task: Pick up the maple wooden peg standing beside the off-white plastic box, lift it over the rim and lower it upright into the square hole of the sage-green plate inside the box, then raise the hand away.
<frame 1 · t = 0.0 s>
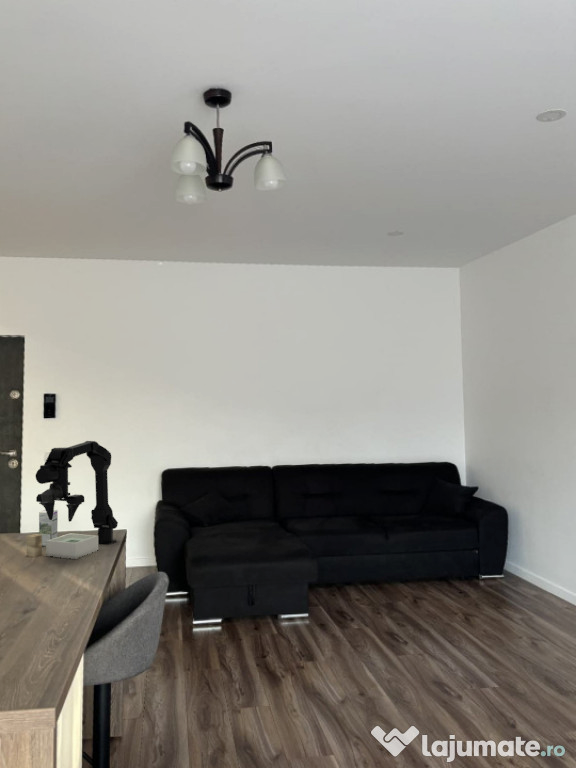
hand: (60, 520, 244), 15 cm above the counter, tool pointing down, fingers open, 9 cm apart
maple peg: (34, 555, 249), on the counter
syrup box: (48, 545, 266), on the counter
open box: (72, 553, 252), on the counter
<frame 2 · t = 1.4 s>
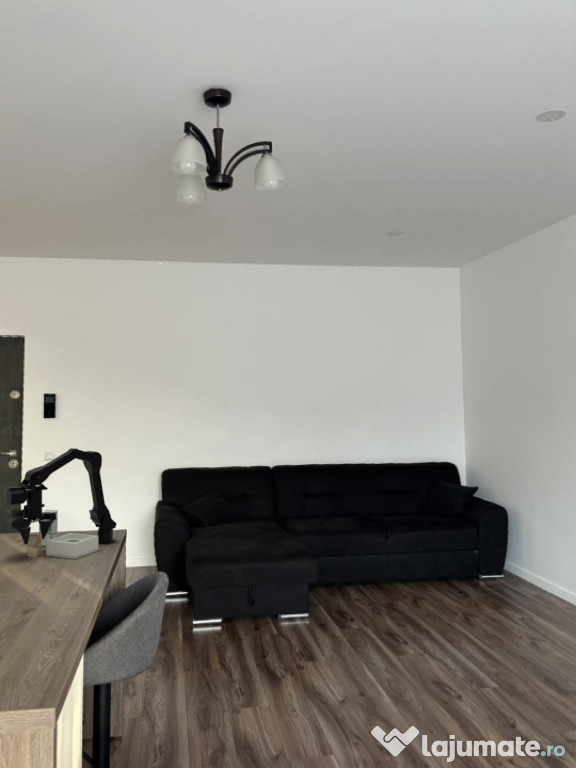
hand: (34, 541, 249), 5 cm above the counter, tool pointing down, fingers open, 9 cm apart
nothing on the counter moved.
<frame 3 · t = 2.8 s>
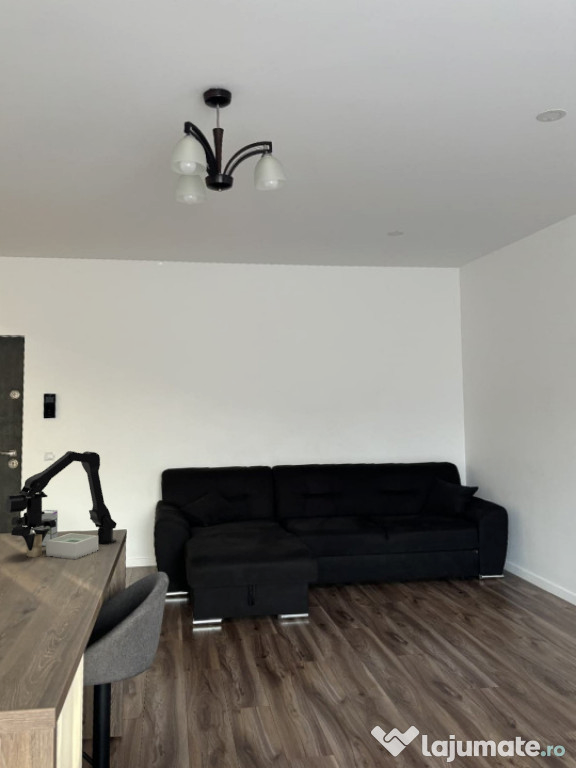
hand: (34, 549, 249), 3 cm above the counter, tool pointing down, fingers closed on maple peg, 4 cm apart
maple peg: (34, 555, 249), on the counter, touching gripper
everything else where it was.
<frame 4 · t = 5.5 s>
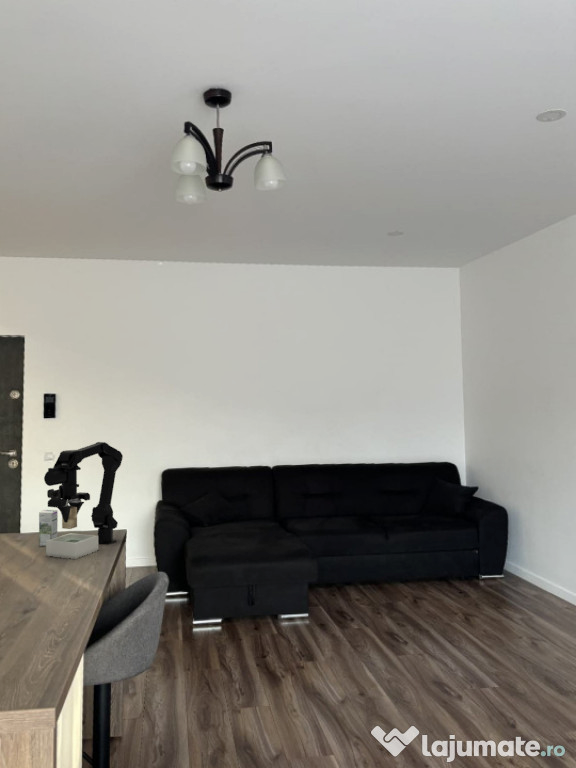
hand: (69, 521, 252), 13 cm above the counter, tool pointing down, fingers closed on maple peg, 4 cm apart
maple peg: (69, 527, 252), point 10 cm above the counter, touching gripper
everything else where it was.
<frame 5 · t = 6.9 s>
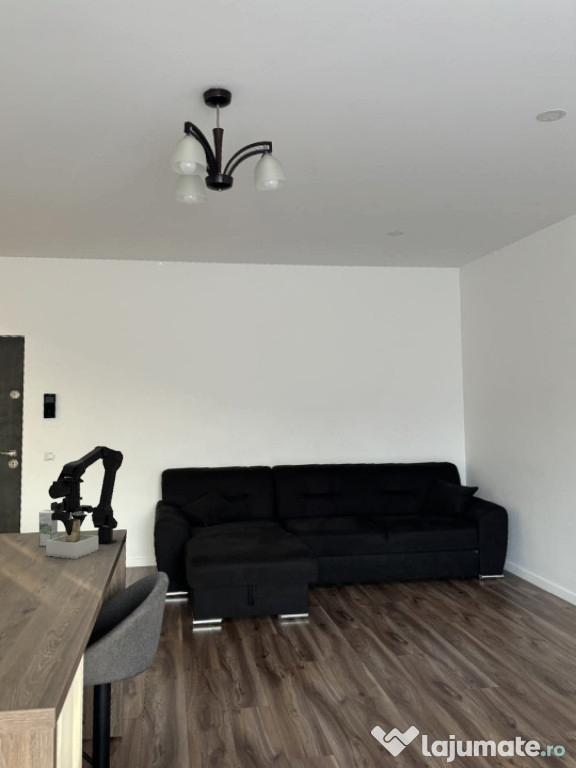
hand: (72, 534, 252), 8 cm above the counter, tool pointing down, fingers closed on maple peg, 4 cm apart
maple peg: (72, 540, 252), point 5 cm above the counter, touching gripper
everything else where it was.
when the fingers open (5 cm above the counter, at t = 8.2 s): maple peg drops 2 cm, resting on open box.
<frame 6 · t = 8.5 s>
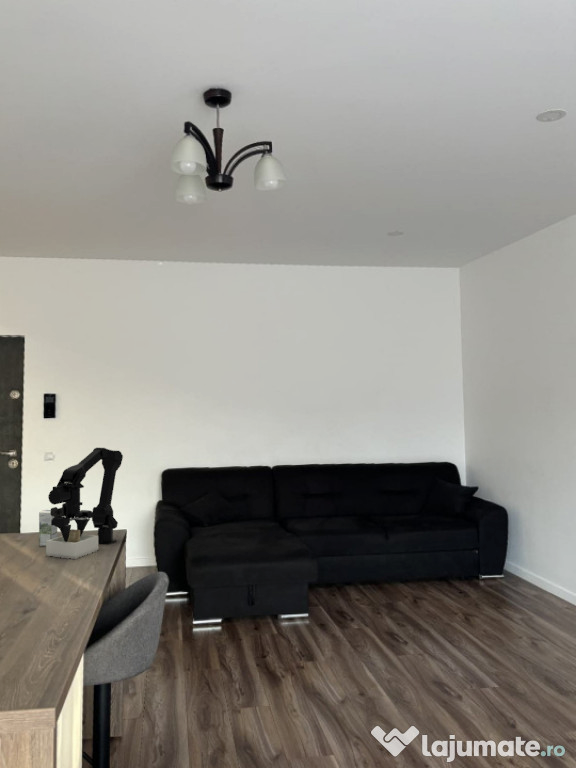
hand: (72, 539, 252), 5 cm above the counter, tool pointing down, fingers open, 8 cm apart
maple peg: (72, 550, 252), point 1 cm above the counter, touching open box
everything else where it was.
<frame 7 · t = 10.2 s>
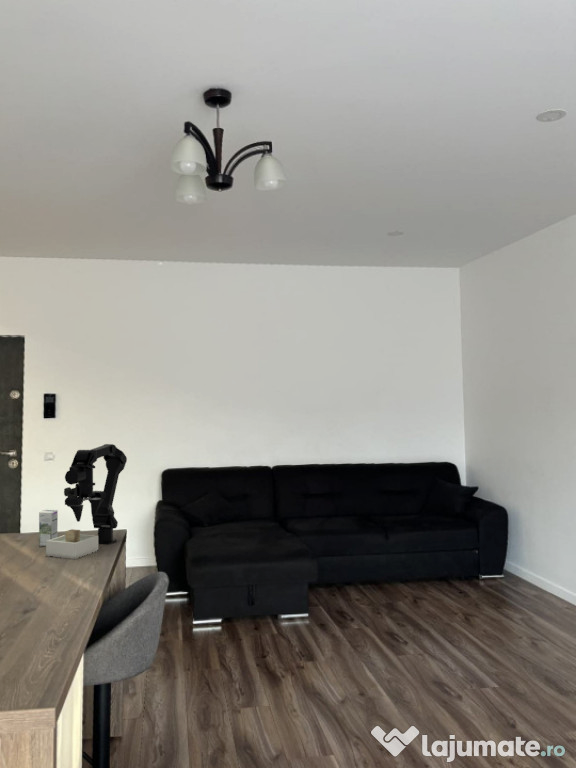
hand: (86, 519, 256), 13 cm above the counter, tool pointing down, fingers open, 9 cm apart
nothing on the counter moved.
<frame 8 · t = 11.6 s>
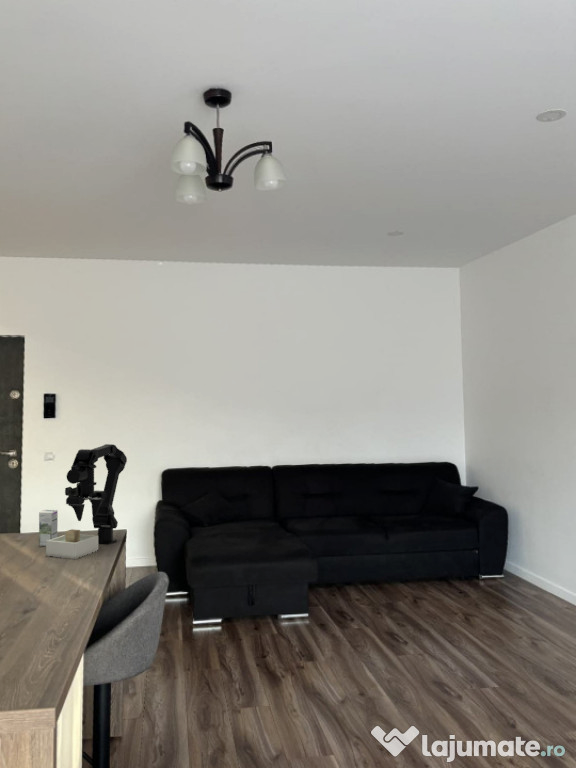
hand: (86, 518, 256), 13 cm above the counter, tool pointing down, fingers open, 9 cm apart
nothing on the counter moved.
at the end: maple peg 0.0 cm off-centre on the open box, point 1.0 cm above the open box's base; maple peg tilted 0°; the gripper is holding nothing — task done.
